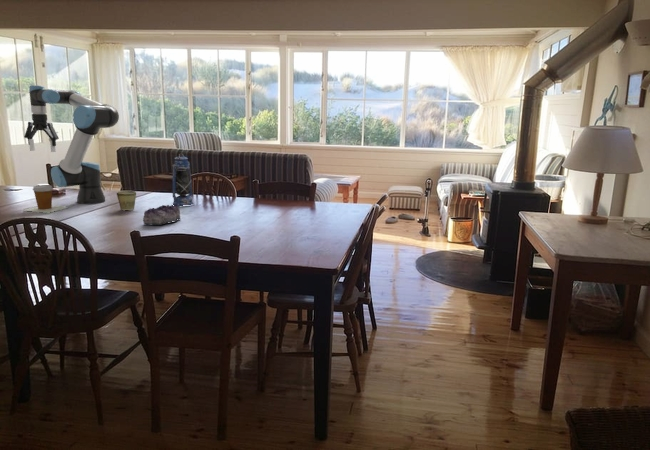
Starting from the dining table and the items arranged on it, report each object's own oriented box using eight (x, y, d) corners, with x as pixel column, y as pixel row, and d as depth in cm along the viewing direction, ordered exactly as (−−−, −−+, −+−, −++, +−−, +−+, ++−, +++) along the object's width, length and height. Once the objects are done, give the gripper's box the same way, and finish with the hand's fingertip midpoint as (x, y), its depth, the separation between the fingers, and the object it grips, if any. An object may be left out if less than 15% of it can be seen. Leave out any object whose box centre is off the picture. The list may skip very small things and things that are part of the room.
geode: (168, 217, 258) (169, 199, 255) (185, 223, 253) (187, 204, 251) (137, 223, 240) (139, 203, 237) (155, 229, 235) (157, 209, 233)
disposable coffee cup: (48, 210, 263) (46, 188, 260) (30, 209, 263) (28, 187, 260) (58, 206, 272) (56, 185, 269) (41, 206, 272) (39, 184, 270)
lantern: (181, 208, 282) (179, 155, 275) (165, 205, 287) (163, 153, 280) (200, 204, 295) (198, 153, 288) (184, 201, 301) (182, 152, 294)
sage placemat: (68, 207, 273) (67, 206, 273) (48, 213, 259) (47, 212, 259) (44, 206, 276) (44, 205, 276) (23, 211, 262) (23, 210, 262)
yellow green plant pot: (130, 212, 267) (129, 194, 265) (113, 211, 269) (112, 192, 267) (143, 207, 279) (142, 190, 277) (127, 206, 281) (126, 189, 279)
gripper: (63, 114, 283) (66, 151, 288) (24, 112, 287) (28, 149, 292) (54, 114, 276) (57, 152, 280) (14, 112, 280) (18, 150, 285)
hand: (42, 151), depth 286 cm, fingers open, 13 cm apart
